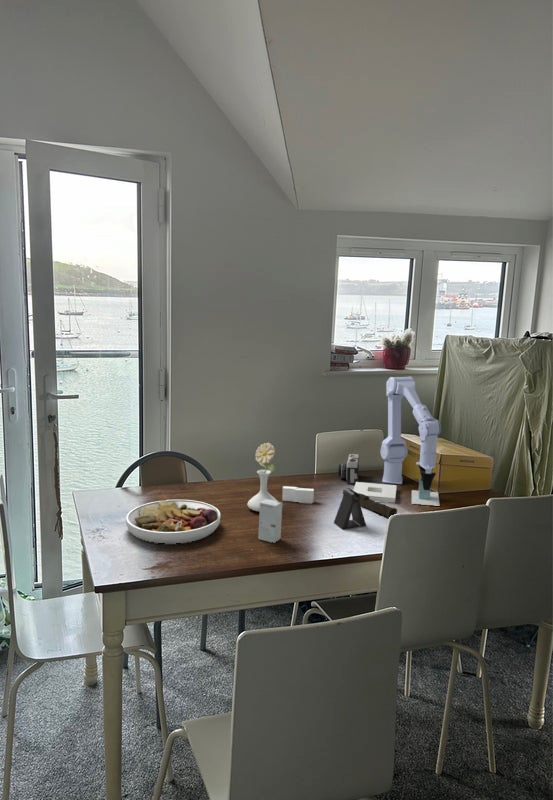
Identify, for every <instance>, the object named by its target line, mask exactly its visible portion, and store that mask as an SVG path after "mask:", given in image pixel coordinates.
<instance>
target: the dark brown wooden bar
mask: <svg viewBox="0 0 553 800" xmlns="http://www.w3.org/2000/svg"><path fill="white" fill-rule="evenodd" d="M358 494H359V496H360V498H359V503H360V506H361V509H369V510H371V511H373V512H376V513H377V514H380V515H382V516H385V517H387V518H389V517H390V516H391V515H394V514H398V508H395V507H391V506H388V505H386V504H384V503H381V502H375V501H373V500H371V499H369V497H368V496H366V495H364V494H360V493H358Z"/></svg>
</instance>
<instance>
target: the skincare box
mask: <svg viewBox="0 0 553 800" xmlns="http://www.w3.org/2000/svg"><path fill="white" fill-rule="evenodd" d="M258 515H259V516H258V517H259V518H258V519H259V520H258V536H257V538H258V540H261V541H264V542H268V543H272V542H273V544H274V543H276V541H277V542H278V541H280V540H281V538H282V536H281V535H282V519H283V518H282V517H283V501H282V502H281V501H278V500H277V501H275V500H269V499H265V500H263V501H262V502H260V511H259V514H258Z"/></svg>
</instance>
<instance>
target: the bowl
mask: <svg viewBox="0 0 553 800" xmlns="http://www.w3.org/2000/svg"><path fill="white" fill-rule="evenodd" d="M125 523H126V527H127V529H128V531H129V533H130V534H132V535H133V536H134V537H135V538H137V539H139V540H141V539H142V540H141V541H144V540H145V541H144V542H147V541H149V542H148V543H151V542H154V543H153V544H158V543H165V544H164V545H177V544H176V543H181V544H188V543H193V542H195V541H196V542H197V541H199V540H201V539H204V538H207V537H208V536H210V535H212V533H214V532H215V530H217V528H218V527H219V526H220V523H221V512H220V510H219V509H218V508H217V507H215V505H212V504H210V503H206V502H203V501H200V500H199V501H198V500H193V499H166V500H165V499H163V500H158V501H157V500H156V501H151V502H147V503H144V504H141V505H139V506H137V507H135V508H133V509H131V510H130V511H129V512H128V513H127V515H126V516H125ZM192 541H193V542H192ZM187 542H188V543H187Z"/></svg>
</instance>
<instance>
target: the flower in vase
mask: <svg viewBox="0 0 553 800" xmlns="http://www.w3.org/2000/svg"><path fill="white" fill-rule="evenodd" d="M275 449H276V448H275V447H274V446H273V444H271V443H270V442H267V443H265V442H264V443H263V444H260V446H258V447H257V449H256V450H255V461H256V462H257V463H258V464H259V465H260V466H261V467H262V468H264V469H258V470H257V471H256V473H257V474H258V477H259V481H260V490H259V492H258V493H257V494H255V495H253V496H252V497H251V498H250V499H249V500H248V502H247V505H246V506H248V508H249V509H250V510H252V511H255V512H260V502H262V501H263V500H265V499H269V500H275V501H278V500H277V498H275V497H274V496H272V495H271V494H270V493H269V491H268V480H269V476H270V475H271V474H272V472H276V468H275V466H274V464H273V463H272V464H270V463H271V461H272V460H273V458H274V456H275V452H276V450H275ZM265 464H268V465H267V466H266V465H265Z"/></svg>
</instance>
